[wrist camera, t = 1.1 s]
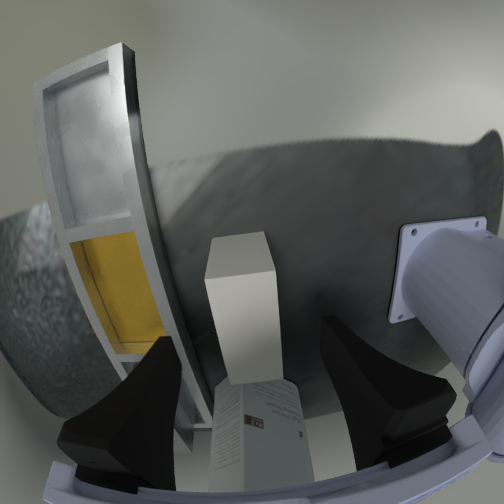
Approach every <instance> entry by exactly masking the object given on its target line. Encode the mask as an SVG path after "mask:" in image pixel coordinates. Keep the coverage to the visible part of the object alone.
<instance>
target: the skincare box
mask: <svg viewBox="0 0 504 504" xmlns="http://www.w3.org/2000/svg"><path fill="white" fill-rule="evenodd" d="M313 482H315V480H314V473H313V468H312V462H311V456H310V451H309V446H308V440H307V434H306V429H305V424H304V418H303V413H302V408H301V403H300V398H299V392H298V388H297V386H296V385H295V384H293V383H291V382H289V381H287V380H285V379H277V380H270V381H262V382H254V383H245V384H235V385H231V384H230V381H229V377H228V376H226V377H225V378H224V379H223V380H222V381H221V382H220V383H219V384H218V385H217V386H216V387H215V399H214V413H213V426H212V440H211V458H210V474H209V491H208V493H223V492H246V491H259V490H269V489H277V488H284V487H291V486H297V485H303V484H308V483H313Z"/></svg>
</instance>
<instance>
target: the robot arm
mask: <svg viewBox="0 0 504 504" xmlns="http://www.w3.org/2000/svg"><path fill="white" fill-rule="evenodd" d="M413 229H414V232H413V233H412V234H411V232H412V230H413ZM485 229H486V218H485V217H483V216H478V217H469V218H459V219H450V220H441V221H432V222H423V223H414V224H406V225H404V226H403V227H402V228H401V230H400V238H399V248H398V257H397V265H396V273H395V280H394V286H393V293H392V299H391V304H390V310H389V315H388V320H389V321H390V323H396V322H400V321H404V320H407V319H411V318H414V317H417V318H418V319H419V321H420V322H421V323H422V324H423V326H424V327H425V328H426V329H427V330H428V332H429V333H430V334H431V335H432V337H433V338H434V339H435V340H436V342H437V343H438V344H439V345H440V347H441V348H442V349H443V351H444V352H445V353H446V355H447V356H448V357H449V358H450V360H451V361H452V362H453V364H454V365H455V366H456V368H457V369H458V371H459V372H460V373H461V375H462V376H463V377H464V379H465V380H466V384H465V387H464V388H463V392H464V394H465V396H466V397H467V399H468V400H469V404H468V406H467V409H466V413H465V418H464V419H463V420H461V421H459V422H457V423H456V424H454V425H453V426H452V427H450V428H448V426H447V425H446V424H447V423H448V419H447V417H446V414H447V413H448V411H449V410H450V408H451V407H452V405H453V404H454V402H455V400H456V396H457V394H456V392H455V391H454V389H453V388H452V386H451V385H450V383H449V382H448V381H447V379H444V378H439V377H436V376H432V375H428V374H425V373H422V372H419V371H416V370H414V369H411V368H409V367H407V366H404V365H402V364H400V363H398V362H396V361H394V360H392V359H390V358H389V357H387V356H385V355H384V354H382V353H380V352H379V351H377V350H376V349H374V348H373V347H372V346H370V345H369V344H367V343H366V342H365V341H364V340H362V339H361V338H360V337H359V336H357V335H356V334H355V333H354V332H353V331H351V330H350V329H349V328H348V327H347V326H346V325H345V324H344V323H342V322H341V321H340V320H339V319H338V318H337V317H336V316H335V315H331V316H325V317H322V321H321V342H320V349H321V353H322V357H323V360H324V364H325V366H326V369H327V371H328V374H329V376H330V378H331V381H332V383H333V385H334V388H335V390H336V392H337V395H338V397H339V400H340V402H341V405H342V408H343V412H344V415H345V419H346V422H347V426H348V430H349V434H350V438H351V443H352V448H353V453H354V458H355V463H356V469H357V471H356V472H353V473H350V474H346V475H343V476H339V477H335V478H331V479H327V480H322V481H318V482H313V483H308V484H303V485H297V486H291V487H284V488H277V489H269V490H259V491H246V492H223V493H205V492H181V491H176V486H175V475H174V457H173V456H174V423H175V416H176V410H177V404H178V399H179V393H180V387H181V378H182V363H181V361H180V358H179V356H178V353H177V351H176V348H175V345H174V343H173V340H172V337H171V336H160V337H159V338H158V339H157V340H156V341H155V343H154V344H153V345H152V347H151V348H150V349H149V350H148V352H147V353H146V354H145V356H144V357H143V358H142V359H141V361H140V362H139V363H138V365H137V366H136V367H135V368H134V369H133V370H132V371H131V373H130V374H129V375H128V376H127V377H126V378H125V379H124V380H123V381H122V382H121V383H120V384H119V385H118V386H117V387H116V388H115V389H114V390H113V391H112V392H111V393H109V394H108V395H107V396H106V397H104V398H103V399H102V400H101V401H99V402H98V403H97V404H95V405H94V406H92V407H91V408H89V409H88V410H86V411H84V412H83V413H81V414H79V415H77V416H75V417H73V418H71V419H69V420H67V421H65V422H64V424H63V427H62V429H61V432H60V434H59V437H58V440H57V445H58V447H59V448H60V449H61V450H62V451H63V452H64V453H65V454H66V455H67V456H69V457H70V458H71V459H72V460H74V461H75V462H76V463H78V466H77V469H76V468H74V467H72V466H69V465H66V464H63V463H61V462H58V461H53V464H52V467H51V470H50V474H49V477H48V480H47V484H46V488H45V492H44V495H43V500H44V501H46V502H48V503H50V504H415V503H417V502H419V501H421V500H423V499H425V498H427V497H429V496H431V495H432V494H434V493H436V492H438V491H440V490H441V489H443V488H445V487H447V486H448V485H450V484H451V483H453V482H455V481H456V480H458V479H460V478H461V477H463V476H464V475H466V474H467V473H468V472H470V471H471V470H472V469H474V468H475V467H476V466H477V465H478V464H480V463H481V462H482V461H483V460H484V459H487V460H489V461H491V462H497V463H504V240H502V239H501V238H499V237H498V236H496V235H494V234H492V233H491V232H489V231H487V230H485ZM399 315H400V316H399ZM398 316H399V317H398Z"/></svg>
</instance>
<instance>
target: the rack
mask: <svg viewBox="0 0 504 504" xmlns="http://www.w3.org/2000/svg"><path fill="white" fill-rule="evenodd" d="M33 105H34V120H35V131H36V140H37V148H38V155H39V161H40V167H41V173H42V177H43V183H44V188H45V192H46V197H47V201H48V205H49V209H50V213H51V217H52V221H53V224H54V228H55V231H56V234H57V238H58V241H59V244H60V247H61V250H62V253H63V256H64V259H65V262H66V266H67V269H68V271H69V274H70V277H71V279H72V282H73V284H74V287H75V289H76V292H77V294H78V296H79V299H80V301H81V303H82V306H83V308H84V310H85V312H86V315H87V317H88V319H89V321H90V323H91V325H92V327H93V329H94V331H95V333H96V335H97V337H98V339H99V340H100V342H101V344H102V346H103V348H104V350H105V352H106V353H107V355H108V357H109V359H110V361H111V362H112V364H113V366H114V368H115V369H116V371H117V373H118V374H119V376H120V378H121V379H122V381H123V380H124V379H125V378H126V377H127V376H128V375H129V374H130V373H131V371H132V370H133V369H134V368H135V367H136V366H137V365H138V363H139V362H140V361H141V359H142V358H143V357H144V356H145V354H146V353H147V352H148V350H149V349H150V348H151V347H152V345H153V344H154V343H155V341H156V340H157V339H158V338H159V337H160V336H171V337H172V340H173V343H174V345H175V348H176V351H177V353H178V356H179V358H180V361H181V363H182V378H181V387H180V393H179V399H178V404H177V410H176V416H175V423H174V453H182V454H183V453H184V454H192V453H193V439H194V428H211V427H212V426H213V413H214V403H213V400H212V398H211V395H210V392H209V390H208V387H207V384H206V382H205V379H204V376H203V373H202V371H201V368H200V365H199V362H198V359H197V356H196V353H195V350H194V347H193V344H192V341H191V338H190V335H189V332H188V329H187V326H186V323H185V319H184V316H183V313H182V309H181V306H180V303H179V299H178V296H177V292H176V289H175V285H174V281H173V278H172V274H171V270H170V266H169V262H168V259H167V255H166V250H165V246H164V242H163V238H162V234H161V229H160V225H159V220H158V216H157V211H156V206H155V201H154V197H153V191H152V186H151V181H150V175H149V170H148V164H147V159H146V152H145V146H144V139H143V132H142V124H141V116H140V108H139V99H138V90H137V79H136V66H135V52H134V51H133V50H132V49H130V48H129V47H128V46H126V45H125V44H124V43H122V42H121V43H118V44H116V45H113V46H110V47H107V48H105V49H102V50H100V51H97V52H95V53H92V54H90V55H88V56H85V57H83V58H81V59H79V60H76V61H74V62H72V63H70V64H68V65H66V66H64V67H62V68H60V69H58V70H56V71H54V72H52V73H50V74H48V75H47V76H45V77H43V78H41V79H40V80H38V81H36V82H34V83H33Z"/></svg>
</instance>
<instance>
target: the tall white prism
mask: <svg viewBox="0 0 504 504" xmlns="http://www.w3.org/2000/svg"><path fill="white" fill-rule="evenodd" d="M204 280H205V284H206V289H207V293H208V298H209V302H210V306H211V310H212V315H213V319H214V323H215V327H216V331H217V335H218V339H219V343H220V347H221V351H222V355H223V359H224V362H225V366H226V370H227V374H228V377H229V381H230V384H231V385H235V384H245V383H254V382H262V381H270V380H277V379H283V364H282V349H281V334H280V320H279V307H278V294H277V282H276V270H275V267H274V264H273V260H272V257H271V254H270V250H269V247H268V244H267V241H266V237H265V234H264V232H256V233H248V234H240V235H232V236H225V237H217V238H212V242H211V248H210V253H209V258H208V263H207V268H206V274H205V279H204Z"/></svg>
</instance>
